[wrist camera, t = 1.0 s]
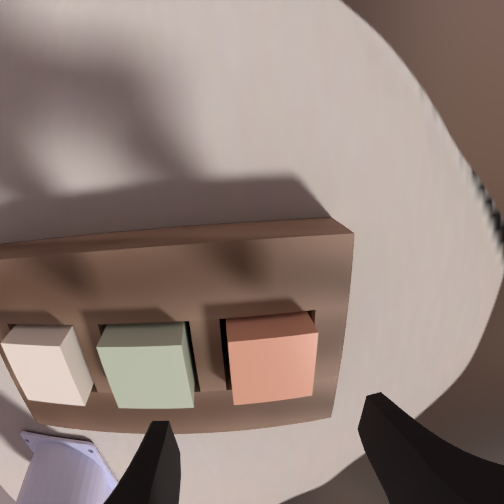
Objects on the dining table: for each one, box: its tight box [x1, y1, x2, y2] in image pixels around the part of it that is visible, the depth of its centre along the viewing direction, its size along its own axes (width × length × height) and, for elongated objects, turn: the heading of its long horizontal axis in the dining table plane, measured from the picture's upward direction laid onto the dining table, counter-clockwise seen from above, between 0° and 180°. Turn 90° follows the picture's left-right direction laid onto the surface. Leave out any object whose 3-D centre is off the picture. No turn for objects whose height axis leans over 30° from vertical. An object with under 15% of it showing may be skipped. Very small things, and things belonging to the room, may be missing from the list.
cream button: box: [1, 324, 94, 406], centre depth 15 cm, size 4×4×3 cm
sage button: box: [96, 321, 195, 409], centre depth 15 cm, size 4×4×3 cm
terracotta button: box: [225, 311, 318, 405], centre depth 16 cm, size 4×4×3 cm
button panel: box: [0, 218, 354, 434], centre depth 17 cm, size 12×20×3 cm, turn 92°
